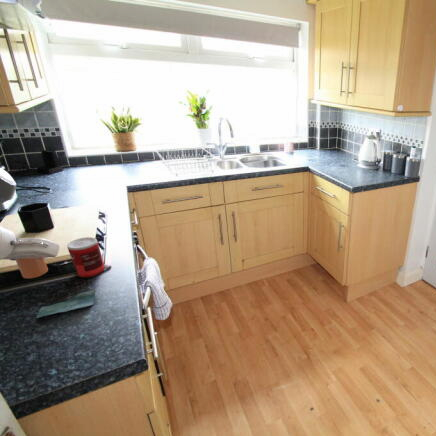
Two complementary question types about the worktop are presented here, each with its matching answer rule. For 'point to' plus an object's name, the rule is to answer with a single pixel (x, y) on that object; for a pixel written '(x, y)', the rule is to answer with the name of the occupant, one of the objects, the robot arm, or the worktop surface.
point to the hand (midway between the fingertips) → (31, 257)
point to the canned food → (86, 257)
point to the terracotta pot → (32, 267)
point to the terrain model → (69, 304)
